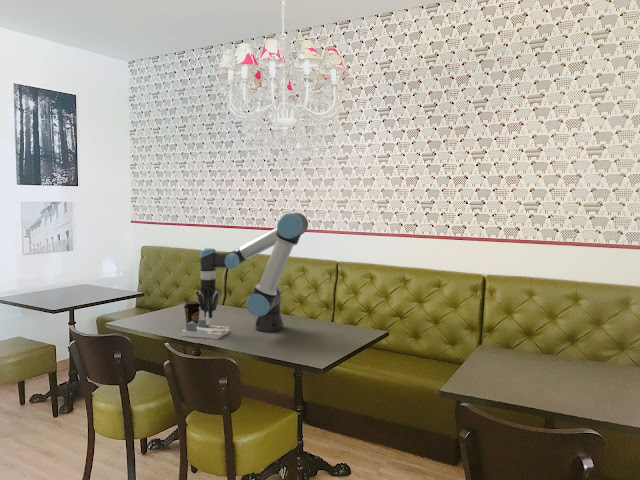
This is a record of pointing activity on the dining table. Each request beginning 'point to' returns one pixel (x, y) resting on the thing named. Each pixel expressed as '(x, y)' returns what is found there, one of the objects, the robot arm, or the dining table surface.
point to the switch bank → (207, 332)
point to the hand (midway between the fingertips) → (208, 323)
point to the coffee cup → (192, 311)
